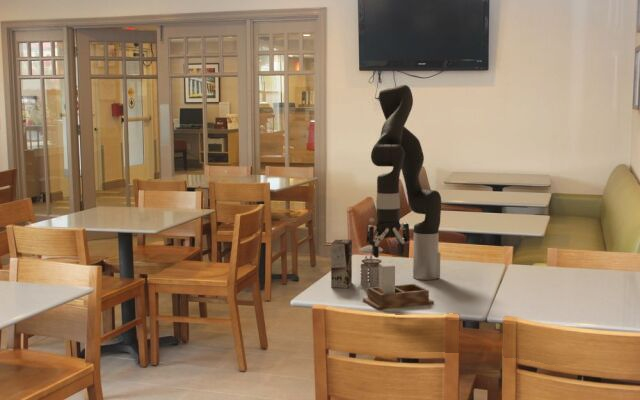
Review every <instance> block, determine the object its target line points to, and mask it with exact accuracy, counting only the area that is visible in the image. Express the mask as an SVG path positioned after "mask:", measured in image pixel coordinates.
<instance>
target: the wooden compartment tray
mask: <svg viewBox="0 0 640 400" xmlns="http://www.w3.org/2000/svg"><path fill="white" fill-rule="evenodd" d="M362 302H364V303H365V304H367V305H368V306H370V307H372V308H373V309H375V310H377V311H380V310H381V311H382V310H391V309H398V308H399V309H401V308H410V307H422V306H428V305H429V306H430V305H434V304H435V301H434V300H432V299H430V290H429V289H427V288H425V287H422V286H420V285H418V284H416V283H409V284H397V285H396V284H395V293H390V294H382V293H380V292H379V287H373V288H368V291H367V297H363V298H362Z"/></svg>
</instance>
